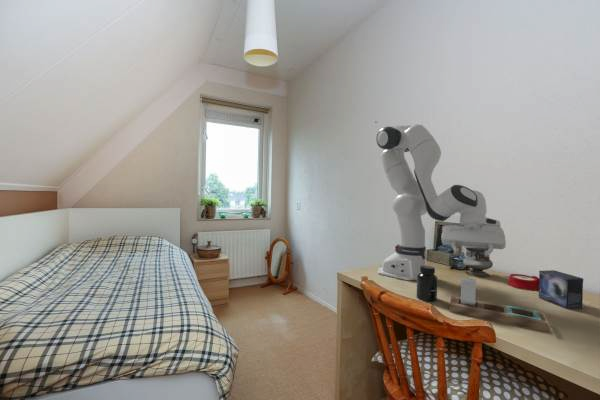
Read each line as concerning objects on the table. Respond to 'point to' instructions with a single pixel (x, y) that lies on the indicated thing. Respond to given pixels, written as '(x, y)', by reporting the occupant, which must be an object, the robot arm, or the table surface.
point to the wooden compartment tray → (501, 314)
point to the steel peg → (468, 291)
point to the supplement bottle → (427, 284)
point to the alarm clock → (523, 281)
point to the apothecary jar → (477, 261)
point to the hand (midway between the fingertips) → (471, 254)
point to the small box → (561, 289)
